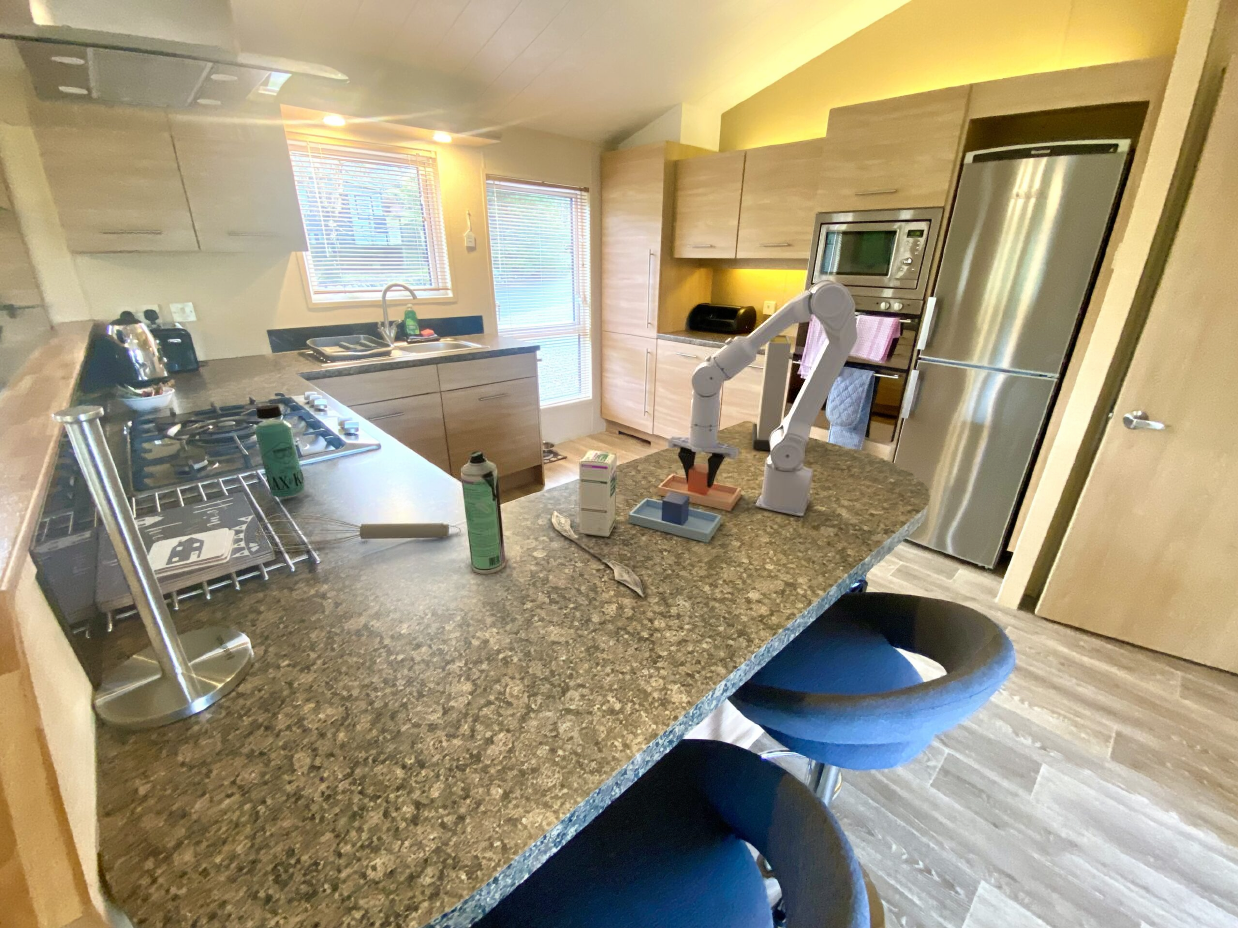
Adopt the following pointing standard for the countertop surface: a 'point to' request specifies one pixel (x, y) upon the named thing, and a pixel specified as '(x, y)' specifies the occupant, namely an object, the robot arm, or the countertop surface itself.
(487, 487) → the spray can
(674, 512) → the blue block
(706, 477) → the terracotta block
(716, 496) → the peach tray
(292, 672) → the countertop surface
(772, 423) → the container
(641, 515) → the blue tray
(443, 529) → the kitchen whisk
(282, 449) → the beverage bottle
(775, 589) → the countertop surface
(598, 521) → the syrup box
